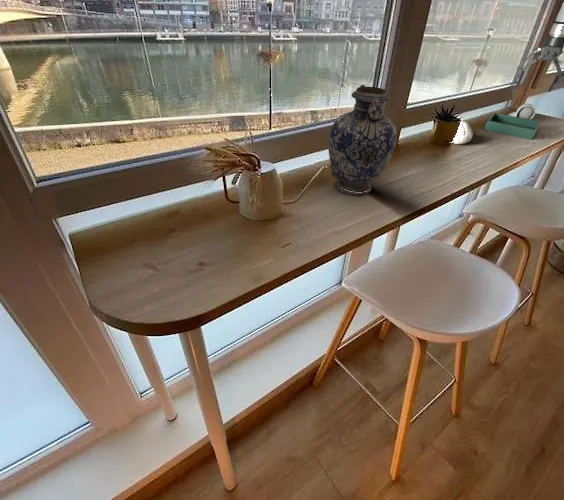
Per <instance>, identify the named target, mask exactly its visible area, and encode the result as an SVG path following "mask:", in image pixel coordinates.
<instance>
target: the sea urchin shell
mask: <svg viewBox="0 0 564 500" xmlns="http://www.w3.org/2000/svg"><path fill="white" fill-rule="evenodd" d="M460 120H461V122H460V125H459V127H458V130H457V133H456V135H455V137H454V138H453V141H452V142H450V143H451V144H455V145H462V144H467V143H469V142H470V141H471V140H472V138H473V137H474V136H473V135H474V132H473V129H472V126H471V125H470V124H469V122H467V121H466V120H462V119H460Z"/></svg>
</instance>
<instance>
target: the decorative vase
mask: <svg viewBox="0 0 564 500" xmlns="http://www.w3.org/2000/svg"><path fill="white" fill-rule="evenodd" d="M387 93H388V91H387V90H386V89H384V88H381V87H376V86H366V85H365V84H361V85H360V86H358V87H357V88H356V89H355V91H353V92H352V93H351V98H353V99H354V101H355V103H354V105H353V110H352V111H349V112H346V113H343V114H341V115H340V116H338V117H337V118H336V119H335V121H334V122H333V123H332V125H331V128H330V131H329V136H328V141H327V142H328V143H327V147H328V148H327V150H328V157H329V161H330V165H329V168H330V169H331V176H332V177H334V178H335V179H337V180H338V181H337V182H336V188H337V189H338V191H340V192H341V193H343V194H346V195H350V196H364V195H368V194H369V193H370V192H371V191H372V184H371V183H372V182H374V181H375V180H376V179H378V178H379V177H380V176H381V174H382V173H383V172H384V170H385V169H386V168H387V166H388V164H389V163H390V161H391V159H392V157H393V154H394V153H395V152H394V151H395V148H396V145H397V138H398V137H397V136H398V134H397V132H398V131H397V128H396V126H395V123H394V122H393V120H391V119H390V118H388V117H387V116H386V115H384V114H382V113H383V108H384V107H383V106H384V105H383V104H384V103H385V102H388V101H389V100H390V96H389V95H388V94H387ZM341 187H342V188H343V189H342V188H341ZM370 188H371V189H370ZM344 189H346V190H349V191H353V192H349V191H346V190H344ZM369 189H370V190H369ZM367 190H369V191H367ZM354 191H355V192H362V193H355V192H354ZM364 191H367V192H364Z"/></svg>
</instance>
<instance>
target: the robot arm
mask: <svg viewBox="0 0 564 500" xmlns="http://www.w3.org/2000/svg"><path fill="white" fill-rule="evenodd" d="M548 34H549V35H548V36H547V37H546V39H545V41H544V44H543V46H542V47H541V48H540V47H538V46H535V47H533V49H532V51H531V52H530V53H529V55H527V56H526V57H525V58H524V59H523V61H521V62H520V63H519V64H518V66H517V67H516V69H517V70H519V72H518V74H517V76H516V79H518V80H517V83H516V85H515V87H519V85H520V83H521V80H522V78H523V77H524V75H525V72H526V71H525V70H526V69H527V68H529V67H531V66H532V65H534V64H535V63H536V62H538V61H539V60H542V61H548V62H553V64H554V66H555V70H556V72H557V75H555V77H554V79H553V81H552V84H550V87H549V89H548V93H550V92H551V91H552V89H553V87H554V86H555V85H558V84H559V82H560V80H561V78H562V77H564V71H562V68H561V64H560V62H559V58H558V57H559V56H561V55H562V57H564V50H563V49H564V2H563V3H562V4H561V7H560V10H559V12H558V13H557V16H556V18H555V21H554V22H553V24H552V27H551V28H550V30H549V32H548ZM537 53H539V55H538V56H537V57H535V58H534V59H532V60H531V61H530V62H528V61H529V59H531V57H532V56H534V54H537ZM526 62H528V63H527V64H526ZM524 64H525V65H524ZM523 65H524V66H523Z"/></svg>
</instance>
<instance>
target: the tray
mask: <svg viewBox="0 0 564 500" xmlns="http://www.w3.org/2000/svg"><path fill="white" fill-rule="evenodd" d="M540 123H541V120H535V119H531V120H530V119H525V118H520V117H514V116H509V115H508V114H503V113H497V112H493V114H491V116H490V117H489V118H488V119H487V121H486V123H485V125H484V127H483V130H484V131H489V132H494V133H500V134H504V135H508V136H514V137H519V138H522V139H528V140H533V138H534V137H535V135H536V133H537V131H538V129H539V126H540Z"/></svg>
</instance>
